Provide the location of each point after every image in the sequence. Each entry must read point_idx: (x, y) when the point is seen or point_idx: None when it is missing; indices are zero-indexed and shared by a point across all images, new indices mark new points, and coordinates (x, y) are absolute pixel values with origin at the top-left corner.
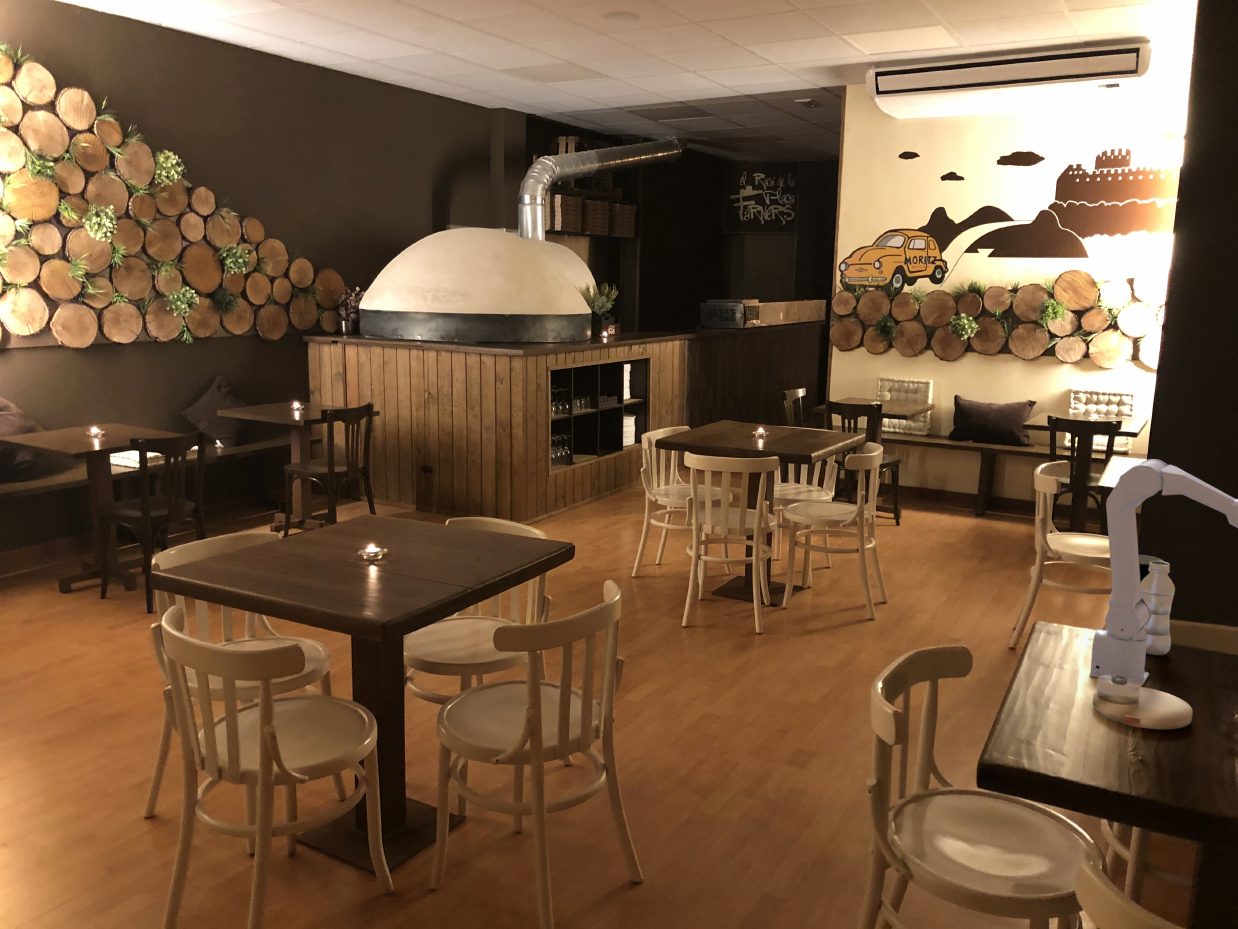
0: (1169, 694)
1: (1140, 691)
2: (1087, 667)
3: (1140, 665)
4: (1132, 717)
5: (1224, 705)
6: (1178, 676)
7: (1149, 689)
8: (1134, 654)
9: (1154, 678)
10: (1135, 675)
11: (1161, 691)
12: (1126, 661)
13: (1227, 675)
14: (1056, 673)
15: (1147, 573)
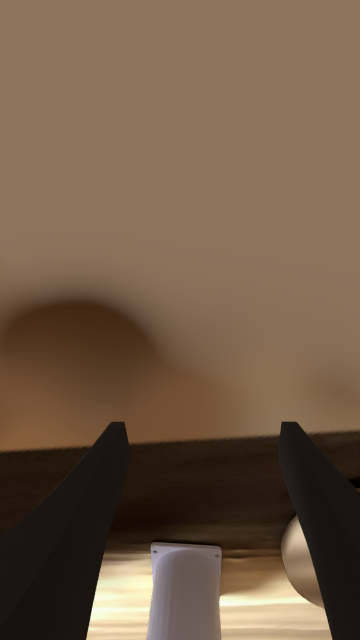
0: (299, 536)
1: (311, 569)
2: None
3: (201, 590)
4: None
5: (222, 443)
6: (121, 507)
7: (292, 560)
8: (214, 633)
9: (159, 532)
10: (208, 570)
11: (290, 546)
12: (219, 618)
13: (53, 449)
14: (232, 625)
15: None
